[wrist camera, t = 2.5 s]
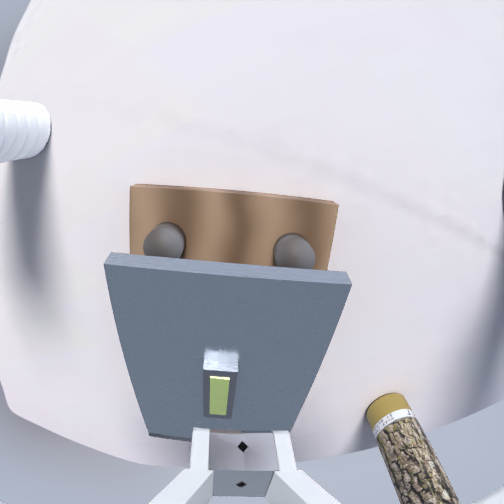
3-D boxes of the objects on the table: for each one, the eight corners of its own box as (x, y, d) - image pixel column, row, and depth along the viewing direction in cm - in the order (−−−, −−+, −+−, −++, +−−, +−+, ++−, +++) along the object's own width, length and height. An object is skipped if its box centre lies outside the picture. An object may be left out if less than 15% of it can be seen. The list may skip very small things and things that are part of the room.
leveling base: (332, 201, 31) (347, 211, 27) (285, 420, 42) (289, 444, 37) (136, 183, 30) (120, 191, 25) (150, 410, 40) (143, 433, 36)
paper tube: (366, 424, 44) (413, 549, 20) (363, 400, 41) (419, 540, 18) (403, 409, 43) (460, 526, 20) (403, 384, 41) (473, 512, 17)
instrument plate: (345, 270, 22) (356, 294, 20) (281, 436, 36) (282, 453, 34) (111, 251, 21) (97, 273, 19) (152, 426, 35) (149, 444, 33)
